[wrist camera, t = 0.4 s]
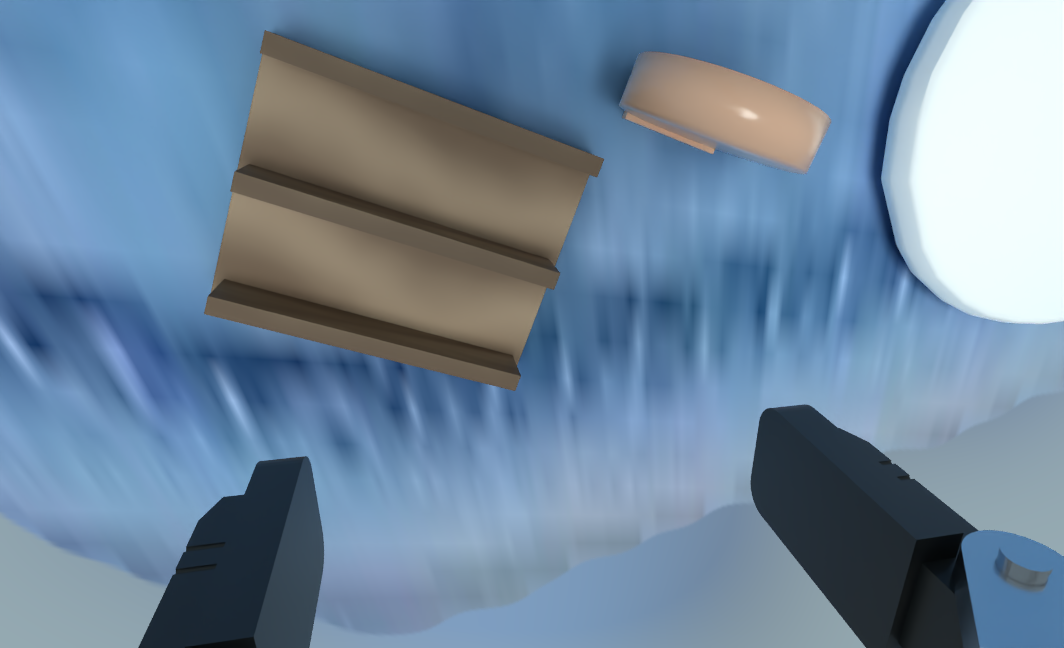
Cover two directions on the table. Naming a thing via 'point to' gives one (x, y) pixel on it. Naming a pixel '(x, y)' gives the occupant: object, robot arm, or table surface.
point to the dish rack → (391, 219)
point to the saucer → (723, 111)
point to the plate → (983, 159)
